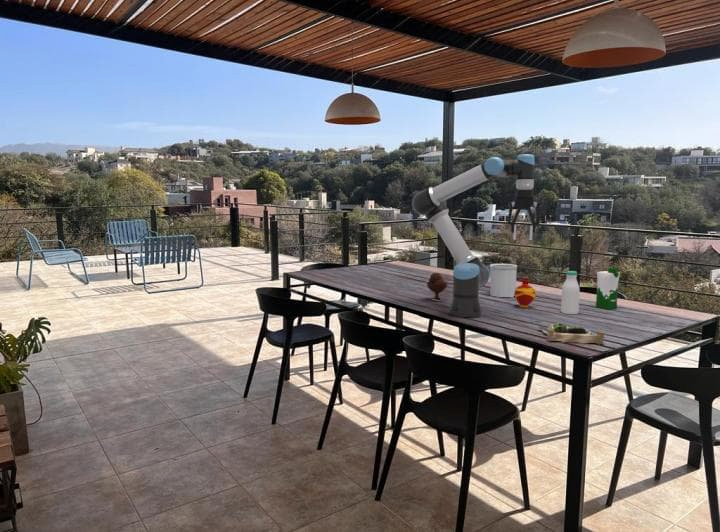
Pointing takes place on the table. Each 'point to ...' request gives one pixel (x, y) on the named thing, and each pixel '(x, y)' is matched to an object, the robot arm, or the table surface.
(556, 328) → the salad plate
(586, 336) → the stop rail
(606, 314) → the table surface
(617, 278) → the milk carton
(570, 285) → the milk bottle
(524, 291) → the potion bottle
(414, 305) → the table surface
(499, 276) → the utensil holder
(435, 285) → the ice cream bowl
